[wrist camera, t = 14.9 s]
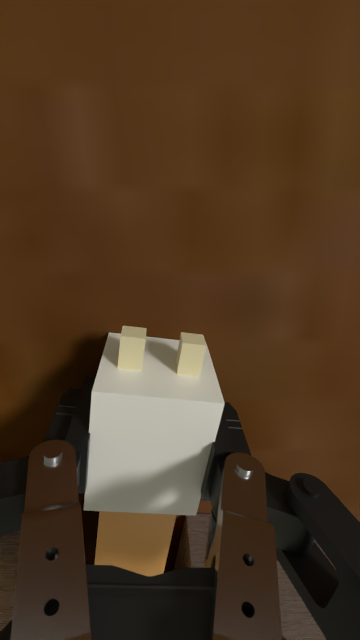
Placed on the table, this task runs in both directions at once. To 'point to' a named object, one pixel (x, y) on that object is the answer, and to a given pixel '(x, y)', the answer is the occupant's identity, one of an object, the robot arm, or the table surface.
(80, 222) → the table surface
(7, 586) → the block
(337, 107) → the table surface
